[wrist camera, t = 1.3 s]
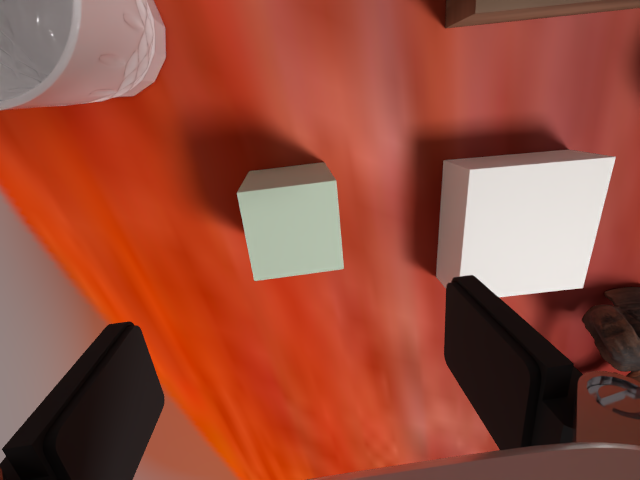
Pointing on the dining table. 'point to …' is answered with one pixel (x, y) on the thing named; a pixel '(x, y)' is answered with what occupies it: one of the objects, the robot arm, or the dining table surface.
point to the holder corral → (524, 9)
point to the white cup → (77, 51)
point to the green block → (291, 221)
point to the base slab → (521, 219)
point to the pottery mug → (618, 329)
